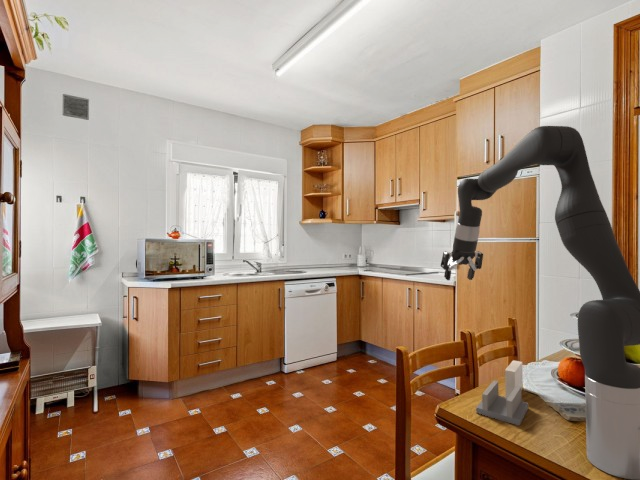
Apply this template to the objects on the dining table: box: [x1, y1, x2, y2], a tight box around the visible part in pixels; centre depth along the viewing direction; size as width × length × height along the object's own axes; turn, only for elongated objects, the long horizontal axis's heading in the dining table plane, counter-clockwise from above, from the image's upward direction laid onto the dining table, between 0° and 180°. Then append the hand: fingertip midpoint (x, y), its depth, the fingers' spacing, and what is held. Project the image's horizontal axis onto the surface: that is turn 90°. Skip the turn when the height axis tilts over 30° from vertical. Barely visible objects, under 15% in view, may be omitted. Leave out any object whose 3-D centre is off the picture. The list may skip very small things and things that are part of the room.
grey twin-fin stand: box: [475, 380, 529, 427], centre depth 93 cm, size 10×11×6 cm
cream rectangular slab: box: [504, 359, 524, 398], centre depth 103 cm, size 2×10×8 cm, turn 139°
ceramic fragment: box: [545, 401, 586, 422], centre depth 91 cm, size 11×3×10 cm
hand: (458, 279), depth 126 cm, fingers open, 8 cm apart
